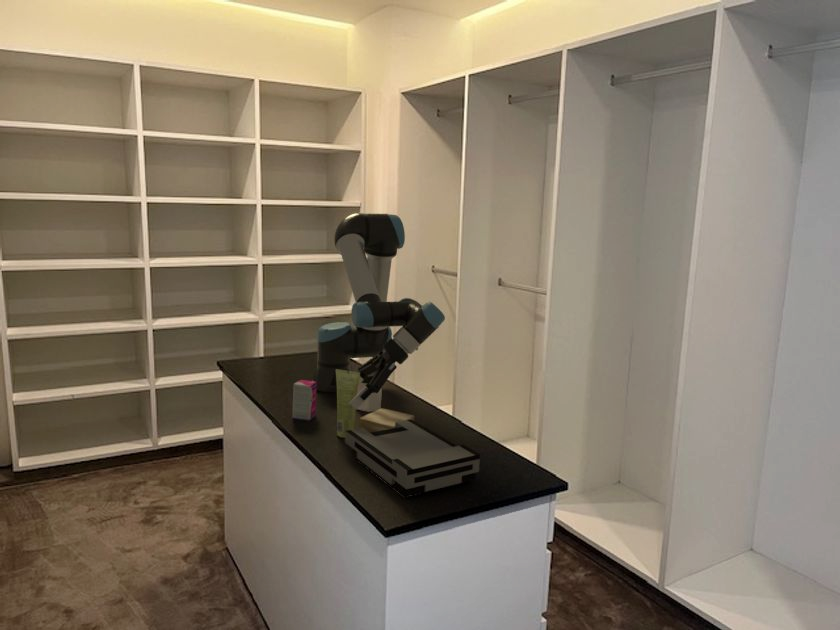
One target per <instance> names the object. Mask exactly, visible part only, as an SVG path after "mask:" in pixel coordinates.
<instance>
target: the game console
mask: <svg viewBox="0 0 840 630" xmlns="http://www.w3.org/2000/svg"><path fill="white" fill-rule="evenodd" d="M344 443H345V444H346V445H347V446H349V447H350V448H351V452H352V453H353V454H355V461H356V460H357V461H356V462H358V461H359V462H360V463H362V464H363V465H364V466H365V467H367V468H368V469H369V470H370V471H372V472H373V473H374V474H375V475H377V476H378V477H380V478H381V479H382V480H383V481H385V482H386V483H387V484H388V485H390V486H391V487H392V488H394V489H395V490H396V491H398V492H399V493H400V494H401V495H403V496H404V497H406V496H409V495H415V494H419V493H423V494H425V493H424V492H426V493H427V492H429V491H434V490H439V489H441V488H446V487H450V486H451V487H454V486H458V485H462V484H466V483H470V482H471V481H472V480H476V473H479V472H480V463H481V462H480V461H481V459H480V458H481V453H479V452H477V451H476V450H474V449H471V448H470V447H468V446H466V445H465V444H461V445H456V444H454V443H453V442H451V441H449V440H447V439H446V438H444V437H443V436H441V435H440V434H437V433H435V432H433V431H432V430H430V429H429V428H427V427H425V426H424V425H422V424H420V423H418V422H416V421H415V420H414V421H413V420H411V419H410V420H404V421H398V422H395V428H393V429H387V430H381V431H376V432H370V433H369V432H368V431H367V430H365V429H364V428H359V427H358V428H354V429H352V430H347V431H345V438H344ZM359 462H358V463H359ZM360 463H359V464H360ZM363 465H362V466H363ZM364 466H363V467H364ZM365 467H364V468H365ZM367 468H366V469H367ZM368 469H367V470H368ZM369 470H368V471H369ZM370 471H369V472H370ZM372 472H371V473H372ZM373 473H372V474H373ZM374 474H373V475H374ZM375 475H374V476H375ZM377 476H376V477H377ZM378 477H377V478H378ZM381 479H380V480H381ZM382 480H381V481H382ZM383 481H382V482H383ZM386 483H385V484H386ZM387 484H386V485H387ZM388 485H387V486H388ZM391 487H390V488H391ZM392 488H391V489H392ZM396 491H395V492H396ZM400 494H399V495H400ZM401 495H400V496H401ZM419 495H420V494H419ZM415 496H416V495H415Z"/></svg>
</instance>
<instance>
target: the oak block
mask: <svg viewBox="0 0 840 630" xmlns="http://www.w3.org/2000/svg"><path fill="white" fill-rule="evenodd" d="M410 419H411V420H413V421H415V415H413V414H409V413H406V412H405V413H404V412H400V411H396V410H391V409H388V408H383V407H381V408H380V409H378V410H376V411H371V412H369V413H367V414H365V415H364V416H361V417H360V418H358V420H359V421H358V428H364V429H365V430H367V431H368V432H369V433H370V432H376V431H381V430H387V429H393V428H395V422H398V421H404V420H410Z"/></svg>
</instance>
